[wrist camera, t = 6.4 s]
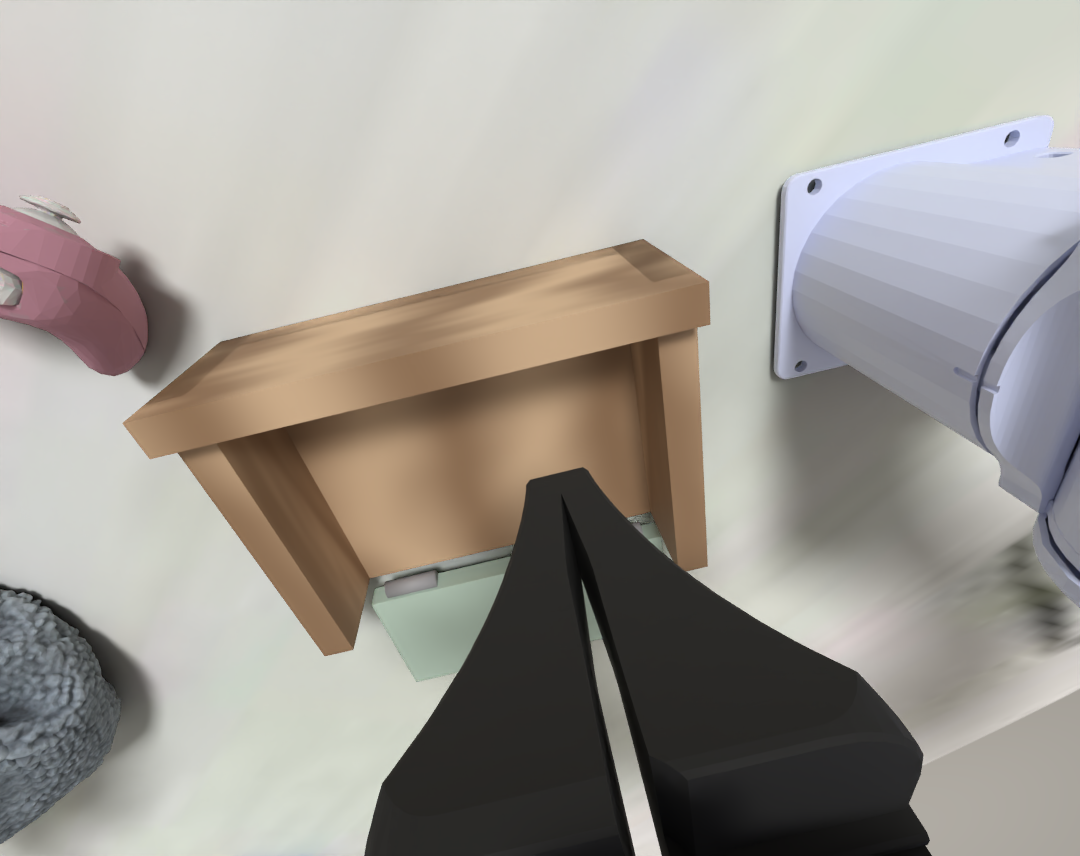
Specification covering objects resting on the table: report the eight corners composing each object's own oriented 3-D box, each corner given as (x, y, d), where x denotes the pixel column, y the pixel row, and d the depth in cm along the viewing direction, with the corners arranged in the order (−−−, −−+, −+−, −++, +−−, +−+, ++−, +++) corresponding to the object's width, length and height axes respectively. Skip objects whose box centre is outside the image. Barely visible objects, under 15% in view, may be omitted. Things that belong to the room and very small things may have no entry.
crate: (643, 239, 18) (708, 281, 13) (666, 490, 25) (717, 585, 19) (220, 342, 18) (122, 423, 13) (350, 565, 25) (318, 679, 20)
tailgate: (659, 527, 23) (670, 622, 27) (653, 512, 24) (664, 607, 28) (366, 596, 23) (416, 682, 27) (370, 580, 24) (418, 665, 28)
